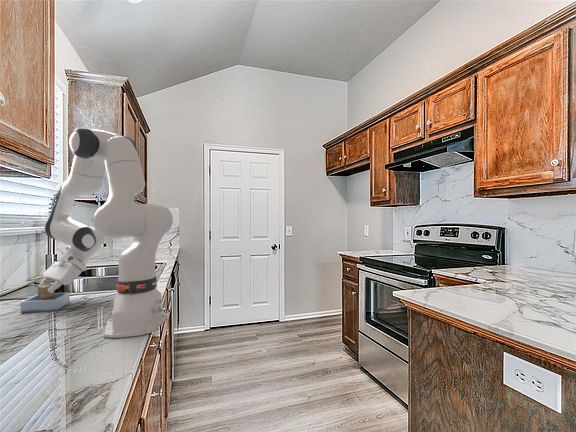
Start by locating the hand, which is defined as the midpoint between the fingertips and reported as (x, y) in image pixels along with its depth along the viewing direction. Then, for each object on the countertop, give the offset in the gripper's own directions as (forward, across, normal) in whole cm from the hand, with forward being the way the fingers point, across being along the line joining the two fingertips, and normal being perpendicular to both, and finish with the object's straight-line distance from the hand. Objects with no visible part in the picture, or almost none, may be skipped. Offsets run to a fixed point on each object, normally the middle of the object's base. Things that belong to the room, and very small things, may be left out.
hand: (44, 290), depth 127 cm
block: (+4, 0, +5) cm, 6 cm away
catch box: (+4, 0, +5) cm, 7 cm away
